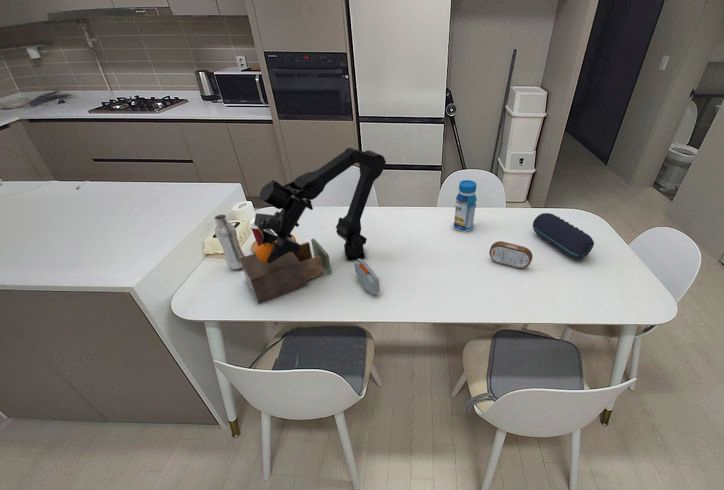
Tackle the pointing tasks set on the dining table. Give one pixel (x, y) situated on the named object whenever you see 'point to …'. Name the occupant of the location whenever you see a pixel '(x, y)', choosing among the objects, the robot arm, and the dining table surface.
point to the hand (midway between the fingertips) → (264, 258)
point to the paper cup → (256, 231)
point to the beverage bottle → (465, 206)
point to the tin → (510, 254)
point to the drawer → (313, 260)
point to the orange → (264, 252)
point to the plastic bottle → (228, 241)
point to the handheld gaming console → (367, 276)
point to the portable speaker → (563, 235)
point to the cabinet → (273, 276)
